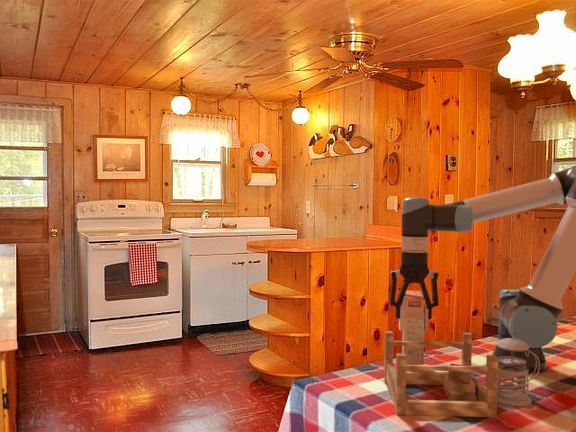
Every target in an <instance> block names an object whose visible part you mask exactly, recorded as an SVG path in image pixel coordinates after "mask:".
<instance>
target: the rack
mask: <svg viewBox="0 0 576 432" xmlns="http://www.w3.org/2000/svg"><path fill="white" fill-rule="evenodd" d="M461 335H462V336H461V341H433V340H432V341H428V340H427V341H425V340H424V341H402V340H394V333H393V331H391V330H389V331H388V330H387V331H386V330H385V331H384V354H383V355H384V356H383V357H384V358H383V359H384V362H383V365H384V366H383V368H384V369H383V371H384V372H383V382H384V385H386V387H387V390H388V392H389V395H390V398H391V400H392V402H393V403H392V404H393V406H394V409H395V411H394V412H395V414H396V416H436V417H437V416H440V417H443V416H445V417H474V418H475V417H476V418H478V417H481V418H498V402H497V389H498V357H497V356H495V355H492V354H486V359H485V360H486V363H485V365H472V349H473V347H472V345H473V344H472V343H473V334H472V333H471V332H462V334H461ZM394 346H399V347H402V346H424V347H449V348H450V347H452V348H453V347H457V348H458V347H459V348H460V347H461V365H467V366H450V364H449V365H443V364H442V365H439V364H436V365H435V364H423V365H406V355H405V353H402V352H401V353H400V352H399V353H398V352H396V354H395V359H396V360H395V365H394V362H393V361H394ZM406 370H420V371H423V372H413V371H406ZM449 371H466V372H470V378H471V379H472V381H473V382H474V384H475V394H476V395H477V401H450V400H434V399H431V400H430V399H406V398H407V397H406V396H407V394H406V392H407V391H406V390H407V389H406V386H407V385H425V386H427V385H431V386H432V385H433V386H436V385H437V386H439V385H440V386H443V382H444V373H448V372H449ZM472 372H474V373H476V372H477V373H478V372H479V373H485V374H486V375H485V386H484V385H483V384H482V383H481V382H480V380H479V379H478V378H477V377H476V376H475V374H473V373H472Z"/></svg>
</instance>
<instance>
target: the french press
mask: <svg viewBox="0 0 576 432" xmlns="http://www.w3.org/2000/svg"><path fill="white" fill-rule="evenodd" d="M509 305H511V306H513V307H514V306H517V303H516V301H510V302H509ZM497 340H498V339H497ZM494 345H495V346H497V347H498V348H501V349H504V350H509V351H525V355H526V356H528V357H529V353H532V354H533V355H534V357H535V356H536V355H535V354H534V353H533V352H531V351H530V350H528V349H529V348H530V346H529V345H528V344H526V343H525V342H523V341H521V340H518V339H515V338H513V315H512V338H505V339H501V340H498V341H495V342H494ZM526 351H530V352H528V355H527V354H526ZM536 357H537V356H536ZM536 357H535V360H536ZM537 359H538V357H537ZM538 362H539V368H538V372H537V373H535V371H536V368H537V360H536V367H535V370H534V372H533V373H530V375H529V373H528V368H527V371H526V366H525V365H526V364H527V362H526V360H524V359H521V358H516V357H512V356H511V357H509V356H500V357H498V389H497V403H500V404H503V405H506V406H513V407H526V406H529V405H532V403H533V401H532V399H531V398H530V396H529V384H530V383H529V382H530V381H531V380H533V379H535V378H536V377H537V376H538V375H539V374H540V373H539V370H540V361H539V359H538ZM505 366H512V367H515V368H517V369H518V371H516V370H514V369H511V368H507V369H501V368H503V367H505ZM534 374H536V375H534ZM533 375H534V376H533ZM532 376H533V377H532ZM530 377H531V378H530Z"/></svg>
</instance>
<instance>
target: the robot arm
mask: <svg viewBox="0 0 576 432" xmlns="http://www.w3.org/2000/svg"><path fill="white" fill-rule="evenodd" d="M553 204H558V205H560V206H563V205H567V208H566V210H565V212H564V214H563V216H562V218H561V220H560V223H559V224H558V226H557V228H556V229H555V230H556V231H555V232H554V234H553V235H552V238H551V240H550V242H549V244H548V246H547V248H546V250H545V252H544V255H543V256H542V258H541V259H540V262H539V264H538V266H537V268H536V270H535V272H534V274H533V276H532V278H531V280H530V282H529V284H528V285H526V286H522V287H520V289H509V288H508V289H501V290H500V292H499V296H498V301H499V302H498V304H499V305H498V335H497V336H498V338H497V341H498V340H501V339H505V338H512V315H513V338H515V339H518V340H521V341H523V342H525V343H526V344H528V345H529V346H530V348H529V349H528V350H530V351H531V352H533V353H534V354H535V355H536V356H537V357H538V359H539V361H540V370H539V373H538V374H541V373H544V372H546V371H547V358H546V356H545V353H544V349H543V347H545V346H547V345H548V344H550V343H551V342H552V341H553V340H554V339H555V338H556V336H557V332H558V319H559V318H560V316H561V314H562V312H563V310H564V307H563V304H562V301H561V300H562V298H563V296H564V294H565V292H566V290H567V288H568V286H569V284H570V282H571V281H572V279H573V276H574V275H575V272H576V164H575V165H574V166H571V167H568V168H565V169H562V170H559V171H557V172H553V173H551V174H550V176H549V177H548V178H547V177H546V178H543V179H539V180H535V181H531V182H527V183H524V184H520V185H516V186H511V187H508V188H504V189H501V190H498V191H493V192H489V193H485V194H482V195H477V196H474V197H471V198H470V197H469V198H466V199H463V200H458V201H455V202H451V203H445V204H430V200H429V199H428V197H406V198H404V199H403V200H402V204H401V205H402V207H401V247H400V249H401V250H402V251H401V252H400V267H399V268H398V270H391V271H389V274H390V277H391V280H390V281H391V282H390V290H389V299H388V302H389V305H390V306H392V307H395V308H394V309H395V312H394V313H395V314H394V316H395V318H396V319H398V329H399V331H400V332H403V306H402V305H403V299H404V296H405V293H406V291H407V290H408V288H409V285H410V284H419V286H420V287H419V288H420V291H422V294H423V296H424V299H425V305H426V306H425V317H424V332H428V331H429V320H431V319H432V317H433V316H432V313H433V308H435V307H439V291H438V278H439V273H438V272H437V271H436V270H434V271H433V270H430V269H429V265H428V264H429V262H428V261H429V259H428V258H429V253H428V252H427V251H428V249H429V231H430V232H458V233H462V232H464V233H465V232H466V233H467V232H471V231H472V229H473V226H474V223H477V222H483V221H486V220H491V219H494V218H499V217H503V216H508V215H512V214H514V213H515V214H516V213H519V212H523V211H528V210H532V209H537V208H539V207H543V206H549V205H553ZM400 275H401V277H402V278H403V281H402V285H401V287H400V290H399V293H398V294H397V298H396V293H397V286H398V285H397V283H398V278H399V276H400ZM428 275H429V278H430V286H431V287H430V289H431V299H430V295H429V291H428V289H427V285H426V283H425V279H426V278H427V276H428ZM431 300H432V301H431ZM510 301H516V303H517V306H514V307H513V306H511V305H509V302H510ZM530 351H526V354H527V355H528V352H530ZM491 355H495V356H497V357H500V356H509V357H511V356H512V357H516V358H521V359H524V360H526V362H527V364H526V365H525V366H526V371H527V368H528V374H532V373H533V372H534V370H535V367H536V360H537V368H536V371H535V373H534V374H537V372H538V368H539V362H538V359H537V357H536V356H535V357H536V360H535V357H534V355H533V354H532V353H529V357H528V356H526V355H525V351H509V350H504V349H501V348H498V347H497V346H496V345H495V346H494V348H493V352H492V353H491ZM507 368H511V369H514V370H516V371H518V369H517V368H515V367H512V366H505V367H503V368H501V369H503V370H504V369H507Z"/></svg>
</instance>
